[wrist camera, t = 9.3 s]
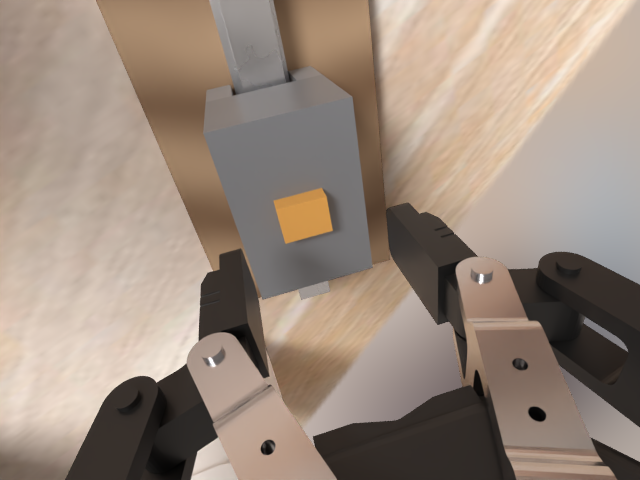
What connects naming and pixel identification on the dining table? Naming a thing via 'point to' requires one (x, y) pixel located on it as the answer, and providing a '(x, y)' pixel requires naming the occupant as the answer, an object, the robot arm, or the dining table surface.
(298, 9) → the board
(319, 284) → the rail
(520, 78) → the dining table surface
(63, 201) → the dining table surface
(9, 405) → the dining table surface
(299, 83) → the block
